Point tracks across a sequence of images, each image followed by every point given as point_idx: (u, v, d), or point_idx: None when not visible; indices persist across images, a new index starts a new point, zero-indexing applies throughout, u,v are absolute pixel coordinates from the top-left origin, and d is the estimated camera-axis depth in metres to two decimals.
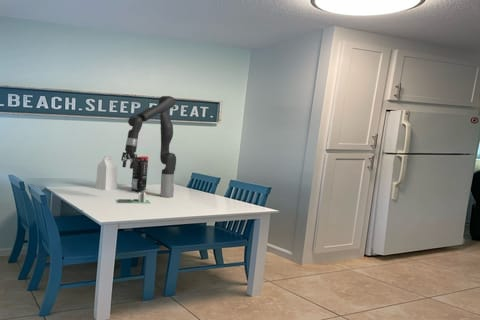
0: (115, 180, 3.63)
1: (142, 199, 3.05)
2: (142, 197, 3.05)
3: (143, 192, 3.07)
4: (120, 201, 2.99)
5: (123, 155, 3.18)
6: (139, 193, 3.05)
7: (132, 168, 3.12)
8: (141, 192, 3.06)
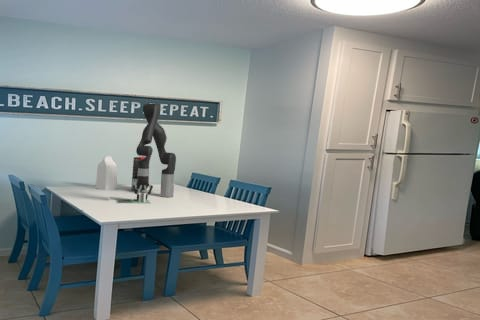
0: (115, 180, 3.63)
1: (142, 199, 3.05)
2: (142, 197, 3.05)
3: (143, 192, 3.07)
4: (120, 201, 2.99)
5: None
6: (139, 193, 3.05)
7: (146, 199, 3.09)
8: (141, 192, 3.06)
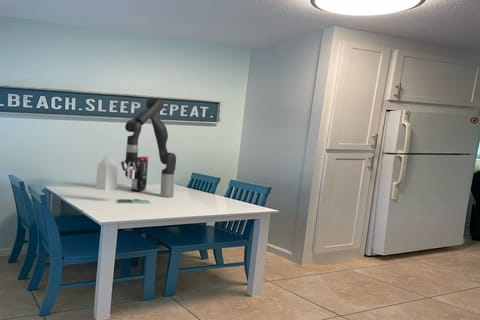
0: (115, 180, 3.63)
1: (131, 176, 3.01)
2: (131, 174, 3.01)
3: (132, 169, 3.03)
4: (120, 201, 2.99)
5: (123, 164, 3.00)
6: (128, 170, 3.01)
7: (134, 176, 3.05)
8: (130, 169, 3.03)
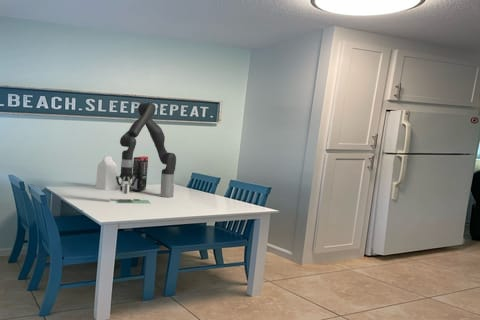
0: (115, 180, 3.63)
1: (125, 190, 3.01)
2: (125, 188, 3.01)
3: None
4: (120, 201, 2.99)
5: None
6: None
7: (129, 191, 3.05)
8: None
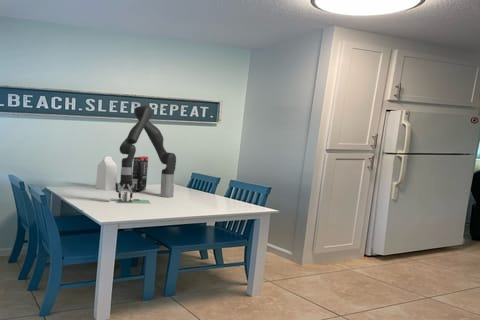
0: (115, 180, 3.63)
1: (125, 199, 3.02)
2: (125, 197, 3.02)
3: (126, 192, 3.04)
4: (120, 201, 2.99)
5: (117, 186, 3.01)
6: (122, 193, 3.02)
7: None
8: (124, 192, 3.03)
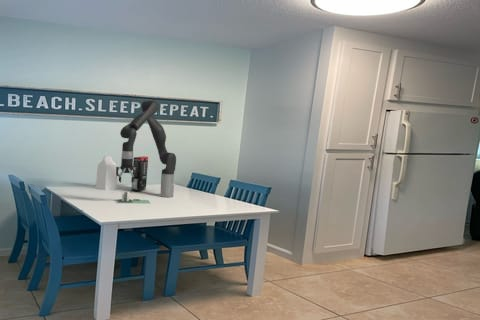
0: (115, 180, 3.63)
1: (125, 199, 3.02)
2: (125, 197, 3.02)
3: (126, 192, 3.04)
4: (120, 201, 2.99)
5: None
6: (122, 193, 3.02)
7: None
8: (124, 192, 3.03)
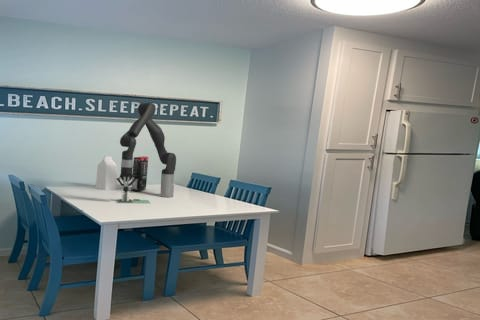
0: (115, 180, 3.63)
1: (125, 199, 3.02)
2: (125, 197, 3.02)
3: (126, 192, 3.04)
4: (120, 201, 2.99)
5: (119, 180, 3.01)
6: (122, 193, 3.02)
7: (126, 191, 3.05)
8: (124, 192, 3.03)
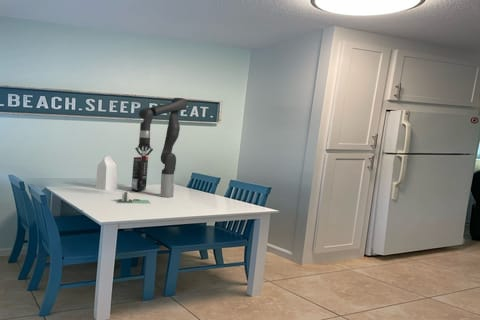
0: (115, 180, 3.63)
1: (125, 199, 3.02)
2: (125, 197, 3.02)
3: (126, 192, 3.04)
4: (120, 201, 2.99)
5: (138, 150, 3.20)
6: (122, 193, 3.02)
7: (144, 160, 3.24)
8: (124, 192, 3.03)
